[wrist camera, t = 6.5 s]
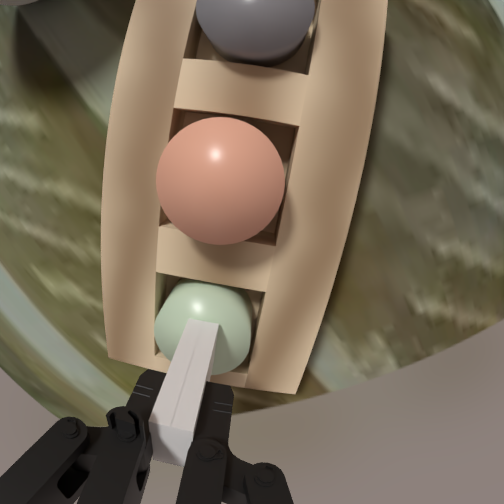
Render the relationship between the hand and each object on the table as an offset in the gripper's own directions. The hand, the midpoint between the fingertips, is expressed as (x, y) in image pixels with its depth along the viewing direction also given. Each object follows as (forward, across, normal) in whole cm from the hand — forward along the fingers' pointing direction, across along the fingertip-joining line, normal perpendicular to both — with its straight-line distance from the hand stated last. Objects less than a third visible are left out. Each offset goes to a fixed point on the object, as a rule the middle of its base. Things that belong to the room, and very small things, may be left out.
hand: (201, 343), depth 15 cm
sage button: (+3, 0, 0) cm, 3 cm away
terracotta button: (+2, 0, +8) cm, 8 cm away
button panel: (+4, 0, +8) cm, 9 cm away
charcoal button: (+3, 0, +16) cm, 16 cm away
